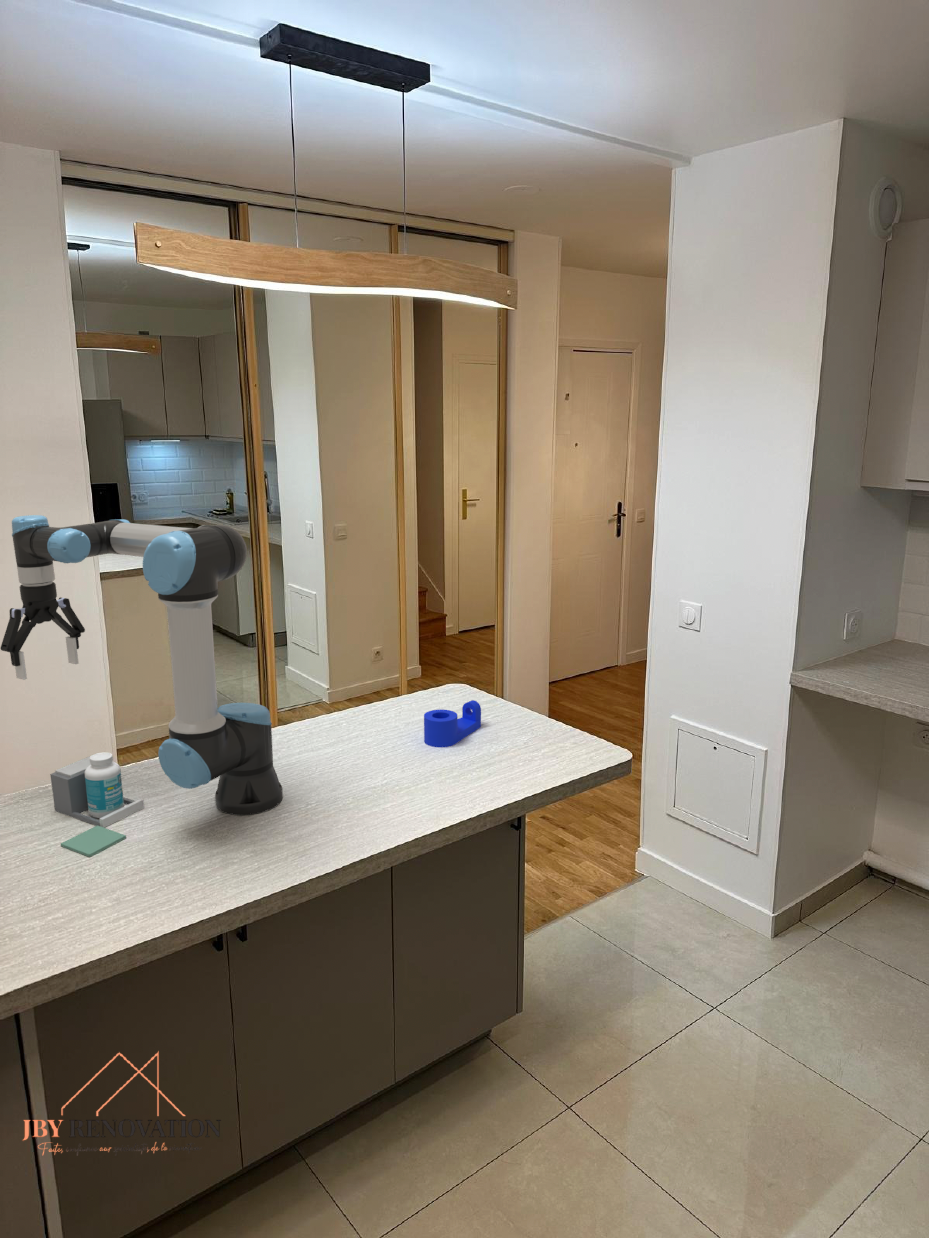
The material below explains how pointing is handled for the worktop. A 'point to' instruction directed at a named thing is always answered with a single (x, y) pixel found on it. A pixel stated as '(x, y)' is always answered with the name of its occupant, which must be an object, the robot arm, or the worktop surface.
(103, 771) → the pill bottle
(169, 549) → the robot arm
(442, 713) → the bracket
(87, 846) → the mat
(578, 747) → the worktop surface
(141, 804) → the grey open frame
